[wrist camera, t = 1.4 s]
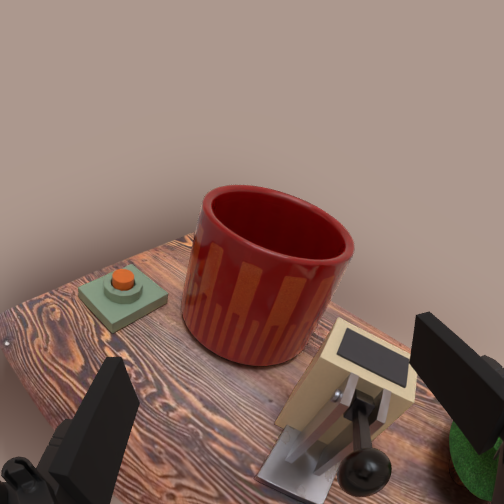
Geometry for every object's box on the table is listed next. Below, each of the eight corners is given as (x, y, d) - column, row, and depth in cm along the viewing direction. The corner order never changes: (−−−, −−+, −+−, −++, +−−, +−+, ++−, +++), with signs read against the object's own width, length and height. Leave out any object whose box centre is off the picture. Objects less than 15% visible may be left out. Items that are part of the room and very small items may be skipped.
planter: (317, 310, 63) (359, 223, 53) (287, 393, 43) (349, 289, 33) (216, 264, 67) (240, 174, 57) (153, 325, 47) (168, 209, 38)
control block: (112, 333, 43) (111, 315, 41) (78, 297, 47) (77, 278, 45) (167, 303, 53) (169, 285, 51) (131, 273, 56) (132, 255, 55)
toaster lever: (370, 513, 13) (406, 476, 13) (324, 496, 14) (358, 457, 14) (363, 422, 28) (381, 394, 28) (334, 408, 29) (352, 380, 29)
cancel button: (120, 294, 46) (121, 285, 45) (108, 282, 47) (108, 273, 47) (138, 286, 49) (138, 277, 48) (124, 274, 50) (125, 266, 49)
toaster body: (348, 459, 35) (415, 401, 27) (273, 423, 38) (321, 354, 31) (361, 419, 41) (419, 356, 34) (295, 386, 45) (339, 315, 37)
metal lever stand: (317, 508, 28) (395, 462, 20) (253, 479, 30) (306, 423, 22) (345, 440, 38) (410, 375, 30) (291, 414, 40) (342, 341, 32)
